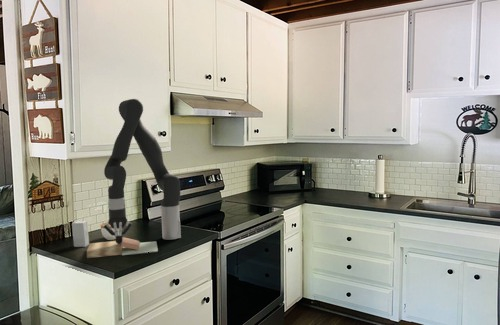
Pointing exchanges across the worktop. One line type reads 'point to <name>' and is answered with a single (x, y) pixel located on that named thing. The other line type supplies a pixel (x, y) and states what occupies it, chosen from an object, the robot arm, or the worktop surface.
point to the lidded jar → (106, 233)
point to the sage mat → (141, 248)
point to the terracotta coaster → (130, 243)
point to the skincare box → (80, 234)
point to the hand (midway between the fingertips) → (119, 243)
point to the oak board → (104, 249)
